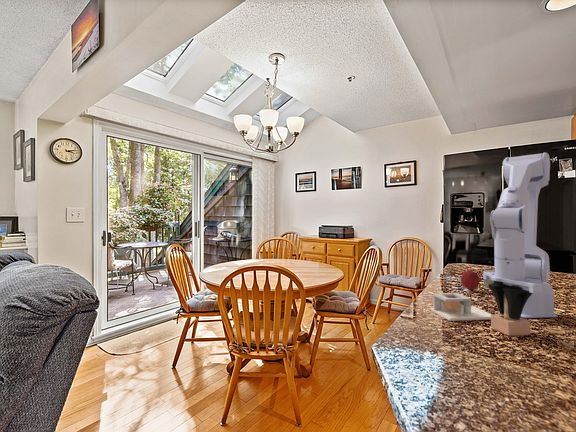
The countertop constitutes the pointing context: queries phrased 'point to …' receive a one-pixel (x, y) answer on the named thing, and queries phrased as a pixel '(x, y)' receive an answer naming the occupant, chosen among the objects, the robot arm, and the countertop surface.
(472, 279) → the onion
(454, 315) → the square socket plate
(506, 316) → the stylus
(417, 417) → the countertop surface
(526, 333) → the stylus holder
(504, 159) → the robot arm
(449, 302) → the button
